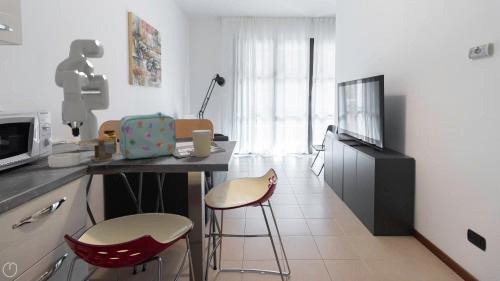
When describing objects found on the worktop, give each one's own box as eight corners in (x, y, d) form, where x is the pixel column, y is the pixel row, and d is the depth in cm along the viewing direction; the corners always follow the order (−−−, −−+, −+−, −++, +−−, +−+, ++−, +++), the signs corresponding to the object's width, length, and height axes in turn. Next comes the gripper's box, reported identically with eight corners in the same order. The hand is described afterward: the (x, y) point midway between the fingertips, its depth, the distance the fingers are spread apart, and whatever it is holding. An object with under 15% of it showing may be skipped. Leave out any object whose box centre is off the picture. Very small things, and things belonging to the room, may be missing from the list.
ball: (100, 141, 170) (100, 134, 169) (108, 140, 172) (107, 133, 171) (102, 142, 167) (102, 134, 166) (110, 141, 169) (110, 134, 169)
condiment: (120, 152, 190) (118, 130, 188) (103, 155, 184) (102, 131, 182) (114, 151, 195) (112, 129, 193) (98, 153, 189) (96, 130, 188)
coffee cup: (213, 153, 179) (212, 129, 178) (210, 156, 170) (208, 131, 169) (195, 153, 180) (194, 129, 179) (190, 157, 171) (189, 131, 169)
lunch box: (171, 152, 187) (168, 111, 184) (179, 154, 179) (177, 111, 176) (118, 158, 172) (115, 113, 169) (125, 161, 163) (122, 114, 161)
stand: (91, 159, 171) (89, 139, 170) (107, 157, 176) (106, 137, 175) (98, 162, 163) (96, 140, 161) (115, 160, 167) (113, 139, 166)
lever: (72, 152, 174) (71, 139, 173) (103, 149, 183) (102, 136, 182) (81, 156, 160) (80, 142, 160) (114, 152, 170) (113, 138, 169)
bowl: (46, 164, 160) (45, 155, 160) (76, 160, 168) (76, 152, 167) (52, 168, 151) (51, 158, 150) (83, 164, 158) (83, 155, 158)
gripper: (87, 97, 176) (90, 134, 178) (53, 98, 167) (57, 137, 169) (91, 97, 171) (94, 135, 173) (56, 97, 161) (60, 138, 163)
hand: (76, 136), depth 171 cm, fingers closed
